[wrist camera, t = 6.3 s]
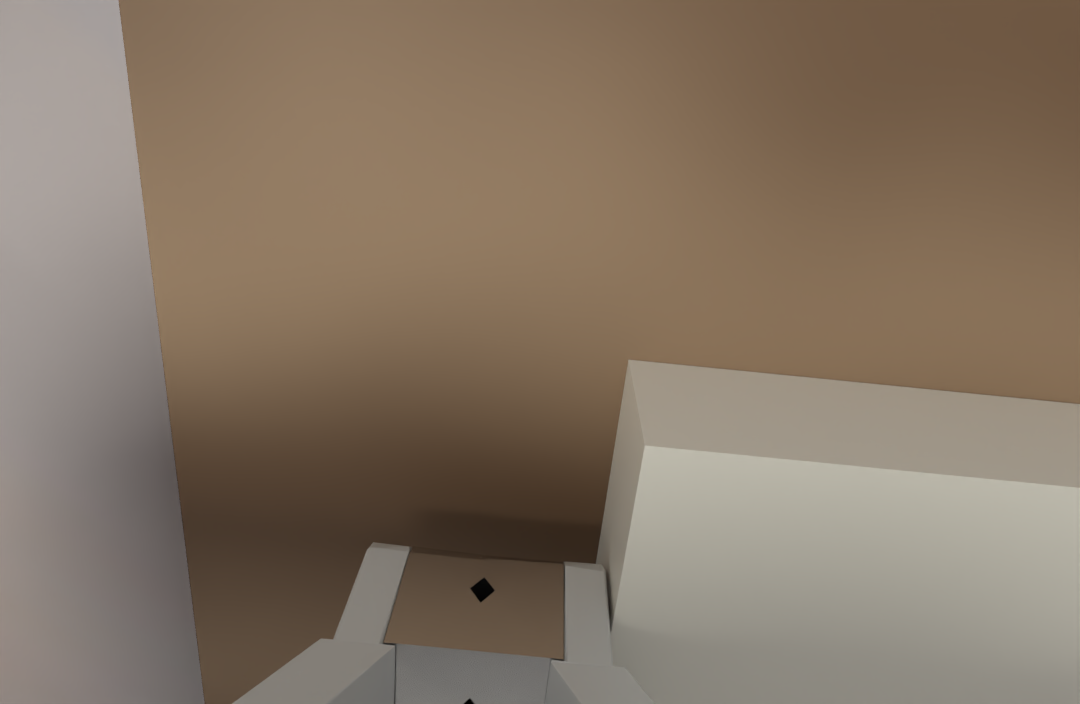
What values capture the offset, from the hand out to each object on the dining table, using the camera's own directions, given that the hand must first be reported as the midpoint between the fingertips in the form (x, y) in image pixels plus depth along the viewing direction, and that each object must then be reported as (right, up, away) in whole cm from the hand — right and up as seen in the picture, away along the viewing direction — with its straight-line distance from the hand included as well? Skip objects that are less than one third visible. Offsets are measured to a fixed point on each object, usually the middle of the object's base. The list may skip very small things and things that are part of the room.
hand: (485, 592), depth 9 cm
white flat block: (+6, 0, +1) cm, 6 cm away
